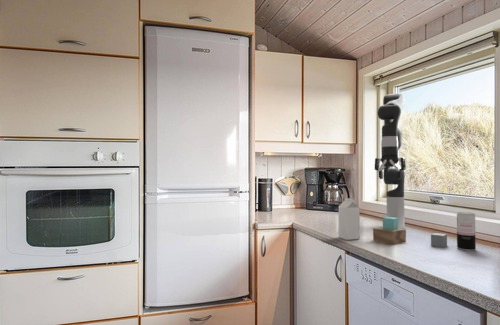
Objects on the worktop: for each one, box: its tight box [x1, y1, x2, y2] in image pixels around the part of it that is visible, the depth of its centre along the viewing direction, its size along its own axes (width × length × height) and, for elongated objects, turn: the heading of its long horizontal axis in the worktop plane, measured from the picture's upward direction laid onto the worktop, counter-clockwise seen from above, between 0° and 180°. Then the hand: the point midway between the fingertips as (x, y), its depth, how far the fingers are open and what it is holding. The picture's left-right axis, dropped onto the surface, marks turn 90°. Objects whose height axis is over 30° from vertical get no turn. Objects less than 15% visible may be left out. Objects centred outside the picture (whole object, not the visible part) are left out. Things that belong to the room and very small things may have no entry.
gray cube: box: [430, 232, 448, 248], centre depth 151 cm, size 5×5×5 cm
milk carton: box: [338, 197, 361, 241], centre depth 167 cm, size 7×7×19 cm
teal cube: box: [382, 216, 398, 230], centre depth 161 cm, size 5×5×5 cm
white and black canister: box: [456, 211, 477, 252], centre depth 145 cm, size 7×6×15 cm
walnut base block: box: [372, 226, 407, 246], centre depth 160 cm, size 10×10×6 cm
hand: (389, 179), depth 171 cm, fingers open, 8 cm apart
